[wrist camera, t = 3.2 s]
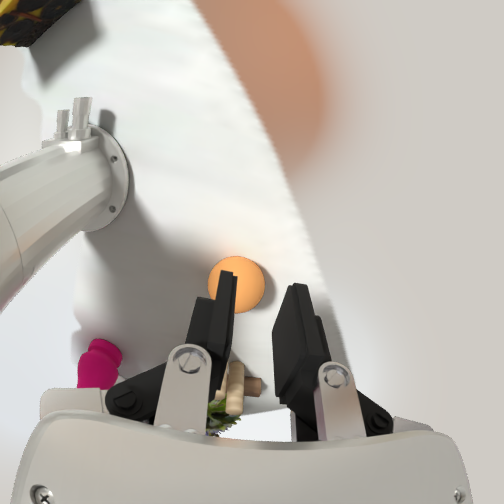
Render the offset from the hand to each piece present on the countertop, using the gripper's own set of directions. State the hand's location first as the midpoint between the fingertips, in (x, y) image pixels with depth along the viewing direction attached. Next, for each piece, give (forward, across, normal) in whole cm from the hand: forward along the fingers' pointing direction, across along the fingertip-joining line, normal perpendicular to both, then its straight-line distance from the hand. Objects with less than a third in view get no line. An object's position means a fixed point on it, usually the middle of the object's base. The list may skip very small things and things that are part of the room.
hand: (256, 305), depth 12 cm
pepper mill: (+17, +20, +32) cm, 41 cm away
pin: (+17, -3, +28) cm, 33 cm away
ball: (+14, 0, +10) cm, 17 cm away
